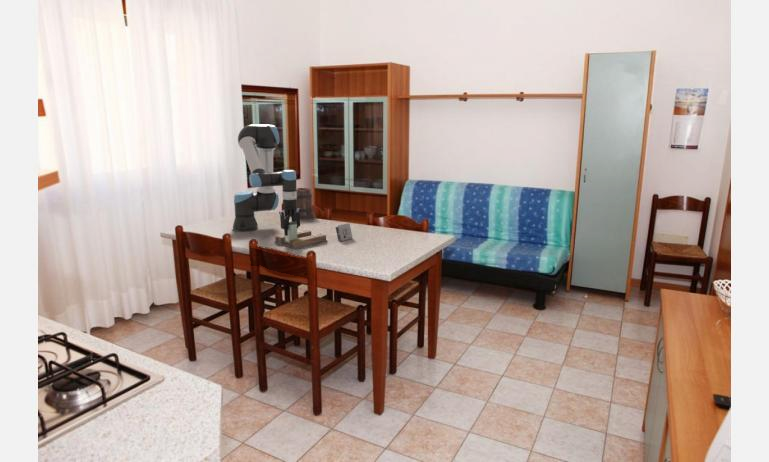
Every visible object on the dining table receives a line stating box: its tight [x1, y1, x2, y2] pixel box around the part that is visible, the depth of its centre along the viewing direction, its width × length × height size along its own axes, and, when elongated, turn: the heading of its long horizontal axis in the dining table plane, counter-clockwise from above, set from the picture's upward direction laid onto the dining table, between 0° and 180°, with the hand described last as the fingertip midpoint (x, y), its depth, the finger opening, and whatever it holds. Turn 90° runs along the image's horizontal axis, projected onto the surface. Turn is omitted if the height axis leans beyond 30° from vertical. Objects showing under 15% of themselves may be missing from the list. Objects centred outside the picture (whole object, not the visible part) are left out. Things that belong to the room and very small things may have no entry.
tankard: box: [290, 187, 316, 220], centre depth 343 cm, size 24×17×20 cm
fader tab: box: [285, 219, 298, 243], centre depth 274 cm, size 6×4×12 cm
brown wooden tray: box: [274, 229, 328, 250], centre depth 280 cm, size 20×22×4 cm
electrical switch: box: [335, 222, 353, 242], centre depth 288 cm, size 9×5×9 cm, turn 141°
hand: (291, 240), depth 275 cm, fingers closed on fader tab, 4 cm apart
